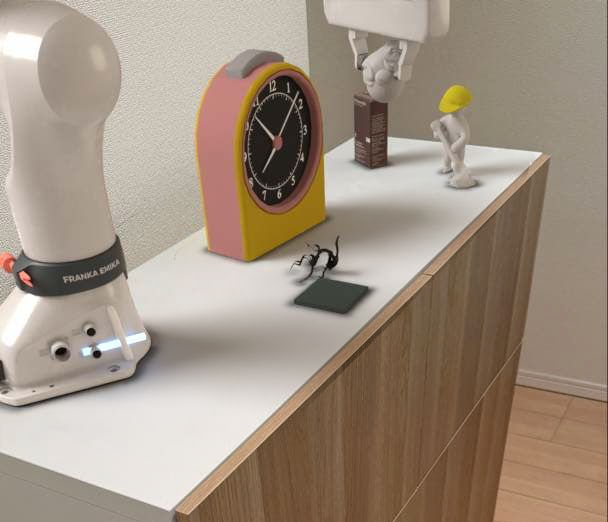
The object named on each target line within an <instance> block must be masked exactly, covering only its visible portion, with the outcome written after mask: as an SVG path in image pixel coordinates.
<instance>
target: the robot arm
mask: <svg viewBox="0 0 608 522" xmlns="http://www.w3.org/2000/svg"><path fill="white" fill-rule="evenodd" d="M323 12H324V17H325V18H326V21H327V22H328V24H329V25H332V26H335V27H336V26H337V27H341V28H345V29H348V41H349V44H350V47H351V49H352V52H353V54H354V69H355V70H356V71H361V72H363V70H364V68H363V67H362V63H363V62H364V60H365V59H366V58H367V57H368V56H369V55H371V54H372V53H370V52H369V47H368V44H367V40H366V38H368V37H369V33H370V34H374V35H380V36H383V37H388V38H394V39H397V40H399V41H400V47H399V48H400V49H401V50H402V49H403V51H402V54H401V56H400V59H399V62H398V63H396V64H394V69H393V70H394V74H393V77H394V79H395V80H399V81H405V82H407V81H410V80H411V79H412V73H413V72H412V71H413V67H412V63H413V62H415V60H416V57H417V55H418V53H419V51H420V49H421V44H423V45H424V44H425V45H427V44H432V43H438V42H442V41H443V40H444V39H445V38H446V37H447V34H448V32H449V31H450V21H451V20H450V19H451V17H450V16H451V0H323ZM120 59H121V58H120V56H119V52H118V50H117V47H116V45H115V43H114V41H113V39H112V38H111V36H110V35H109V34H108V32H107V31H106V30H105V28H104V27H102V25H100V24H99V23H98V22H97V21H95V20H93V19H92V18H91V17H89V16H87V15H86V14H84V13H82V12H81V11H79V10H77V9H75V8H74V7H72V6H70V5H68V4H66V3H64V2H61V1H57V0H0V113H2V114H3V116H4V118H5V121H6V123H7V126H8V132H9V139H10V140H9V141H10V169H9V171H8V172H7V174H6V176H5V179H4V190H5V194H6V197H7V200H8V204H9V207H10V210H11V214H12V217H13V220H14V224H15V228H16V230H17V233H18V238H19V240H20V244H21V247H22V249H21V251H20V253H19V254H18V256H17V257H14V255H12V254H11V253H9V252H2V253H1V254H0V268H1V269H2V270H3V271H5V272H6V273H7V274H10V275H12V277H13V280H14V282H15V285H16V286H15V287H14V289H13V290H12V291H11V292H10V294H9V295H8V296H7V297H6V298H5V300H4V301H3V303H2V304H1V305H0V402H1V403H3V404H6V405H9V406H14V407H15V406H16V407H19V406H24V405H28V404H32V403H36V402H39V401H43V400H44V401H45V400H47V399H51V398H55V397H59V396H63V395H66V394H70V393H74V392H78V391H82V390H84V389H89V388H93V387H97V386H101V385H105V384H108V383H112V382H117V381H120V380H124V379H128V378H130V377H131V376H133V375H134V374H135V371H136V368H137V364H138V363H139V362H140V360H141V359H142V358H144V357H145V356H146V354H147V353H148V351H149V350H150V348H151V345H152V340H151V339H152V338H151V335H150V334H149V332H148V331H147V329H146V327H145V325H144V323H143V321H142V319H141V317H140V315H139V312H138V310H137V307H136V305H135V302H134V298H133V296H132V293H131V290H130V287H129V283H128V279H129V276H128V275H129V274H128V270H127V269H128V266H127V259H126V256H125V252H124V248H123V246H122V243H121V239H120V236H119V235H118V233H117V234H116V232H115V226H114V221H113V216H112V212H111V207H110V202H109V196H108V191H107V187H106V181H105V175H104V174H105V173H104V137H105V128H106V122H107V120H108V117H109V116H110V114H111V113H112V112H113V111H114V109H115V107H116V105H117V103H118V100H119V98H120V94H121V90H122V79H123V77H122V75H123V74H122V72H123V71H122V65H121V60H120ZM413 64H414V63H413Z"/></svg>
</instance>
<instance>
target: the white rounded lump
mask: <svg viewBox="0 0 608 522" xmlns="http://www.w3.org/2000/svg"><path fill="white" fill-rule="evenodd" d="M399 47H400V40H399V39H390V40H387V41H386V42H385V43H384V45H383V46H381V47H379V48H378V49H377V50H375V51H374V52H372V53H370V54H371V55H369V56H368V57H367V58H366V59H365V60H364V62H363V63H362V67H363V68H364V70H363V71H362V78H363V82H364V84H365V86H366V90H367V92H369V94H370V96H371V97H372V98H373V99H374V100H376V101H378V102H381V103H388V104H389V103H391V102H393V101H395V100H396V99H397V98H399V96H400V95H401V94H402V92H403V90H404V87H405V82H406V81H399V80H395V79H394V77H393V74H394V70H393V69H394V64H396V63H398V62H399V59H400V56H401V54H402V51H403V49H402V50H401V49H400V48H399ZM414 62H415V61H414ZM414 62H413V63H412V68H413V67H414V65H415V63H414Z"/></svg>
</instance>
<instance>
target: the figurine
mask: <svg viewBox="0 0 608 522" xmlns="http://www.w3.org/2000/svg"><path fill="white" fill-rule="evenodd" d="M472 101H473V95H472V93H471V91H470V90H469V89H468V88H467V87H465V86H464V85H460V84H456V85H455V84H454V85H453V86H450V87H449V88H448V89H447V90H446V91H445V93H444V95H443V96H442V98H441V101H440V102H439V106H438V109H439V111H440V112H442V113H444V114H445V115H444V116H442V117H441V118H440V119H436V120H434V121H432V122H431V123H430V129H431V130H432V131H433V138H434V139H435V140H437V141H441V143H442V145H443V147H444V149H443V169H442V173H443V174H446V173H449V172H450V171H451V170H452V171H453V173H454V175H453V176H452V177H451V178H450V181H449V185H450V187H452V188H457V189H468V188H470V187H471V188H472V187H475V186H476V183H477V182H476V181H475V180H474V179H473V178H472V175H471V172H470V170H468V167H467V165H466V164H465V163H464V162H465V156H466V155H465V154H466V146H467V145H468V144H469V142H470V139H471V131H470V126H469V122H468V121H467V119H466V118H465V117H464V116H463V112H464V111H465V110H466V108H467V106H468V105H469V104H471V103H472ZM445 132H446V133H447V134H446V135H445ZM452 164H453V165H452ZM452 166H453V167H452Z"/></svg>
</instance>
